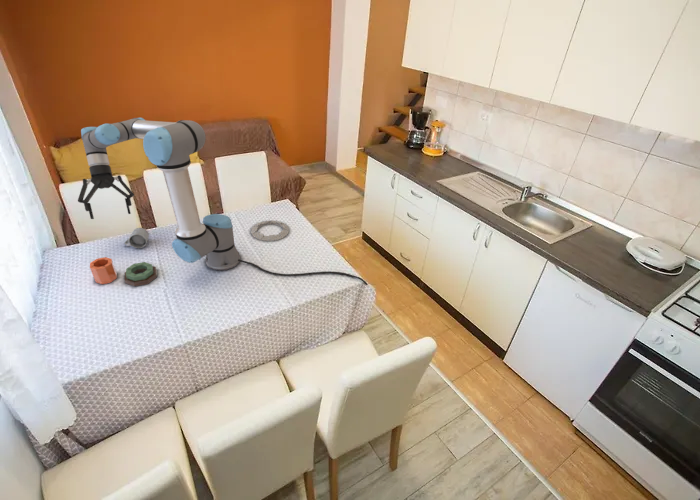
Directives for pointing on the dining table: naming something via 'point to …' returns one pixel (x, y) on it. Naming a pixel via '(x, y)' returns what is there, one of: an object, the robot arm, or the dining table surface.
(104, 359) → the dining table surface
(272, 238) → the ring
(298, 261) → the dining table surface
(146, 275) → the sage ring
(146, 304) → the dining table surface
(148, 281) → the walnut ring
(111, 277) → the orange hollow faceted cylinder
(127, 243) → the grey flanged cylinder
